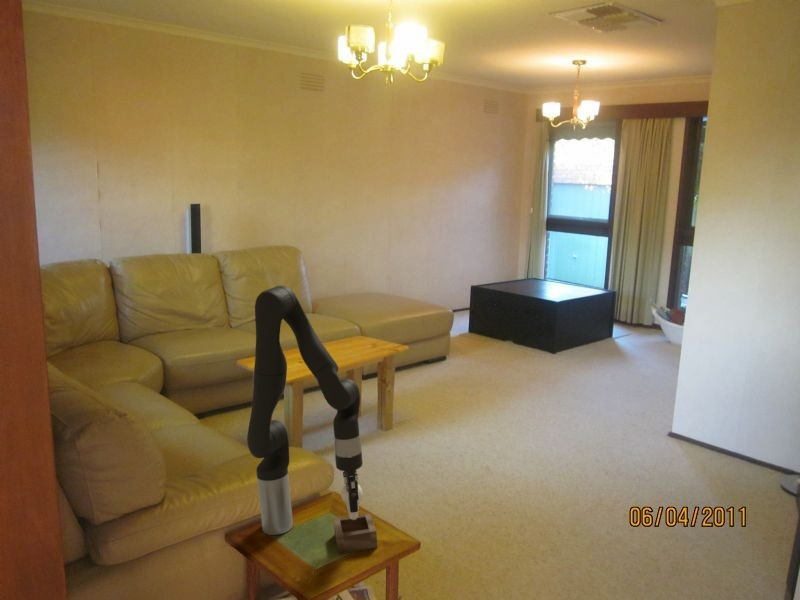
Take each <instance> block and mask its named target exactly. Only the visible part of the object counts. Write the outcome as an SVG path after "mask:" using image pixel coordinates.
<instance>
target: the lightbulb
mask: <svg viewBox="0 0 800 600" xmlns="http://www.w3.org/2000/svg"><path fill="white" fill-rule="evenodd" d="M353 495H355V494H351V496H353ZM340 496H341V500H342V501H343V502H344V503H345V505H346V508H347V512H348V516H349V518H350V519H352V520H356V519H357V518H358V515H359V509H360V508H359V507H360V503H361V501H362V499H363V489H362V487H361V485H360V484H358V497H359V499H358V500H357V502H358V511H357V512H353V513H351V512H350V503H349V499H348V497H349V496H348V492H347V491H346V486H345V485H344V486H343V487H342V488H341V491H340Z"/></svg>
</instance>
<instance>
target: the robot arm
mask: <svg viewBox="0 0 800 600" xmlns="http://www.w3.org/2000/svg"><path fill="white" fill-rule="evenodd" d="M254 304H255V305H254V319H255V321H254V322H255V356H254V366H253V367H254V368H253V389H252V390H253V391H252V402H251V410H250V411H251V412H250V418H249V423H248V429H247V438H246V441H247V447H248V450H249V452H250V454H251V455H252V456H253V457H254V458H257V459H262V460H261V461H260V462H259V464H258V465H257V466H256V472H255V473H256V480H257V481H256V482H257V489H258V490H257V491H258V498H259V499H258V500H259V509H260V519H261V527H262V531H263V533H264V534H266V535H270V536H277V535H282V534H285V533H288V532H289V531H290V530H291V529H292V528H293V527H294V521H293V510H292V500H291V499H292V498H291V490H290V480H289V477H290V476H289V469H288V468H289V465H290V442H289V435H288V431H287V428H286V426H285V425H284V424H283V423H282V421H280V420H277V419H272V417H273V414H274V411H275V410H276V407H277V405H278V403H279V401H280V399H281V397H282V396H283V393H284V392H285V387H286V385H287V384H286V383H287V376H288V375H287V374H288V364H287V357H286V356H285V353H284V350H283V348H282V346H281V342H280V335H281V325H282V320H284V322H285V323H286V324H287V325H288V326H289V327H290V330H291V331H292V332H293V335H294V337H295V339H296V343H297V346H298V347H297V348H298V350H299V354H300V356H301V359H302V360H303V362H304V364H305V366H307V369H308V370H309V371H310V372H311V374H312V375H313V377H315V378H316V381H317V384H318V386H319V389H320V391H321V393H322V395H323V398H324V399H325V401H326V402H327V404H328V405H329V406H330V407H331V408H332V409H334V410H336V411H337V412H336V414H335V417H334V418H333V434H334V435H333V436H334V437H333V438H334V439H333V440H334V441H333V442H334V443H333V445H334V458H335V459H334V460H335V467H336V469H337V470H339V471H341V472H342V478H343V484H344V486H346V491H347V492H348V496H349V497H348V499H349V503H350V512H351V513H353V512H357V511H358V512H359V510H358V502H357V500H358V499H359V497H358V485H359V484H358V481H359V480H358V479H359V475H358V472H357V470H359V469H360V468H362V466H363V453H362V441H361V437H360V428H359V427H360V425H359V412H360V403H361V401H360V400H361V393H360V389H359V386H358V384H357V383H356V381H354V380H352V379H350V378H345V379H344V378H343V379H342V380H341V379H340V377H339V375H338V371H339V366H338V364H337V362H336V361H335V360H334V358H333V357H332V355H331V354H330V352H329V351H328V350H327V348H326V347H325V346H324V344H323V343H322V341H321V340H320V338H319V337H318V335H317V333H316V332H315V330H314V328H313V326H312V324H311V322H310V320H309V318H308V317H307V315H306V313H305V311H304V309H303V307H302V304H301V303H300V301H299V299H298V297H297V295H296V294H295V292H294V291H293V290H292V289H291V288H290V287H288V286H286V285H277V286H274V287H271V288H268V289H266V290H264V291H262V292H261V293H259V294H258V295H257V297H256V300H255V303H254ZM351 494H355V495H353V496H351Z"/></svg>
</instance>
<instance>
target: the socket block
mask: <svg viewBox="0 0 800 600" xmlns="http://www.w3.org/2000/svg"><path fill="white" fill-rule="evenodd" d="M333 527H334V537H335V542H336V547H337V552H338V555H341V554H347V553H354V552H359V551H360V552H361V551H366V550H372V549H377V548H378V538H377V536H378V535H377V529H376V527H375V522H374V520H373V517H372V514H371V512H369V513H362V514H358V518H357V519H356V520H352V519H350V518H349V515H348V516H342V517H337V518H336V517H335V518H333Z"/></svg>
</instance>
